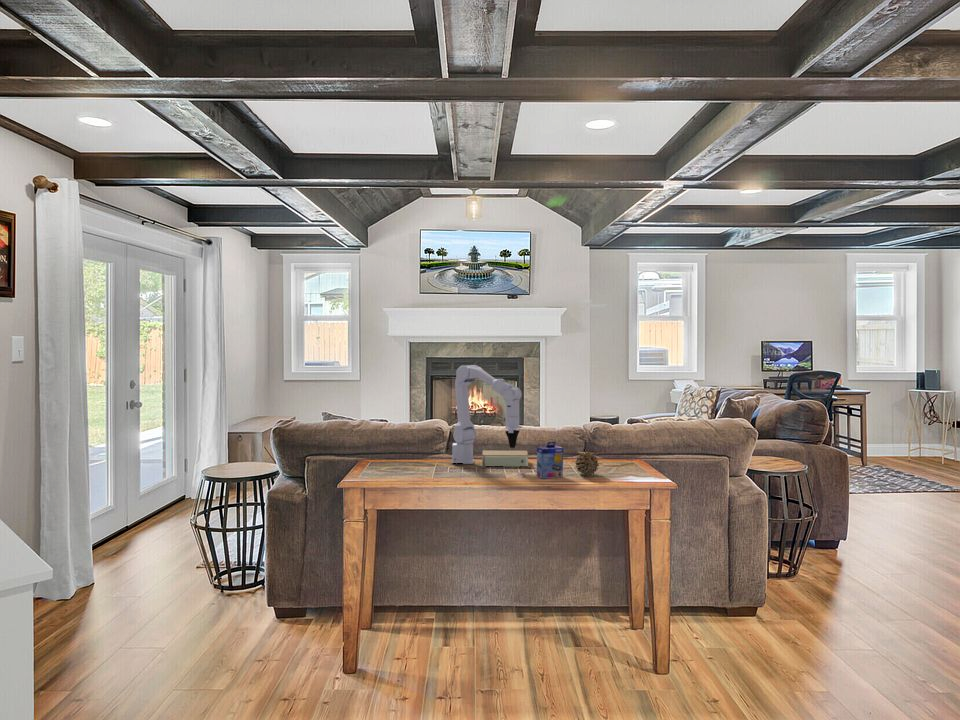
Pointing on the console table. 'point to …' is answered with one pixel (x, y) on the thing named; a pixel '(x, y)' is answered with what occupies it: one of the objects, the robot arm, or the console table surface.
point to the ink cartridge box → (549, 461)
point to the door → (504, 461)
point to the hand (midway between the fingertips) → (512, 447)
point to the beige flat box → (505, 454)
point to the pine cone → (586, 463)
